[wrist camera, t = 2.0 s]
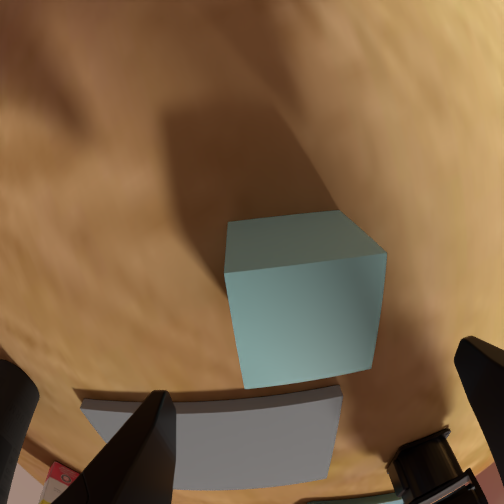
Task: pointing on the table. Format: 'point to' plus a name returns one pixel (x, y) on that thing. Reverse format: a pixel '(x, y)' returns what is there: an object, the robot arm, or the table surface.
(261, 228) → the teal cube
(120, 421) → the slate mat
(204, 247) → the table surface
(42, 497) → the ink box
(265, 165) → the table surface
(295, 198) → the table surface
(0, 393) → the drinking cup
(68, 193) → the table surface
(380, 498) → the teal serving tray
